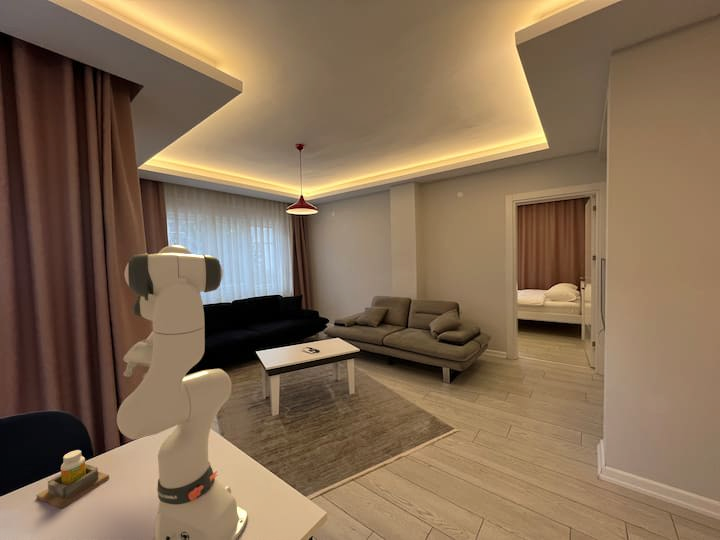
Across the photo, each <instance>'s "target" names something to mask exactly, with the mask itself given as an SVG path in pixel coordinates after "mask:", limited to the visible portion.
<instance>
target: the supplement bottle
mask: <svg viewBox="0 0 720 540" xmlns="http://www.w3.org/2000/svg"><path fill="white" fill-rule="evenodd" d="M62 461H63V463H62V464H61V466H60V475H61V478H62V484H63V485H66V486H67V485H69V484H71V483H72V482H74V481H76V480H78V479H79V478H81V477H83V476H84V475H86V468H85V464H86V458H85V457H84V456H83V455H82V450H80V449H76V450H72V451H69V452H68V453H66V454H64V456H63V457H62Z"/></svg>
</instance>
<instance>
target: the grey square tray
mask: <svg viewBox="0 0 720 540" xmlns="http://www.w3.org/2000/svg"><path fill="white" fill-rule="evenodd" d="M85 468H86V475H84V476H83V477H81V478H79V479H78V480H76V481H74V482H72V483H71V484H69V485H67V486H66V485H63V484H62V478H61V474H58V475H57V476H55V477H53V478H51V479H50V480H48V481H47V489H45V490H43V491H42V492H39V493H38V494H36V499H37V500H39V501H42V502H45V503H47V504H49V505H52V506H54V507H58V508H60V509H64V508H65V507H67V506H68V505H70V504H72V503H73V502H75V501H76V500H78V499H79V498H81V497H82V496H84V495H86V494H88V492H90V491H92V490H93V489H95V488H97V487H98V486H100V485H101V484H103V483H104V482H106V481H107V480H109V479H110V474H106V473H103V472H101V471H99V470H98V467H97V466H93V465H89V464H87V463H85ZM102 482H103V483H102Z"/></svg>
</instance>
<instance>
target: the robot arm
mask: <svg viewBox="0 0 720 540" xmlns="http://www.w3.org/2000/svg"><path fill="white" fill-rule="evenodd" d="M220 263H221V261H220V260H219V259H218V258H217V257H215V256H213V255H209V254H200V255H199V254H193V253H192V252H191V251H190V250H189V249H188V248H186V247H185V246H181V245H179V244H178V245H177V244H175V245H174V244H173V245H168V246H165V247H163V248H161V250H159V251H158V253H150V254H149V253H147V252H146V253H139V254H135V255H133V256H131V257H130V258H129V260H128V262H127V264H126V266H125V269H124V279H125V283H126V284H127V286H128V287H129V290H130V291H132V292H133V293H134V294H135V295H136V297H135V300H134V302H133V304H132V307H131V308H132V312H133V314H134V315H135V316H136V317H138V318H142V319H146V320H149V321H152V330H151V333H150V334H149V336H147V338H146V339H142V340H140V341H138V342H137V343H135V344H134V345H132V347H131V348H130V349H128V351H127V353H126V354H125V355H124V356H123V362H125V363H127V364H126V367H125V370H124V372H123V374H122V375H123V376H124V377H128V378H129V377H131V376H132V374H133V373H134V372H133V369H134V368H135V367H136V366H142V367H148V371H147V372H144V374H143V376H142V381H141V382H140V384H138V386H137V387H136V388H135V390H134V391H132V392H131V393H130V394H129V395H128V396H127V397H126V398H124V400H123V401H122V402H121V405H119V408H118V411H117V415H116V425H117V427H118V430H119V431H120V433H121V434H122V435H123V436H124V437H126V438H128V439H131V440H137V439H141V438H146V437H150V436H154V435H157V434H160V433H162V432H164V431H167V430H169V429H171V428H174V427H175V428H174V430H173V431H172V433H170V434H169V436H168V437H166V438H165V439H164V441H163V442H162V443H161V446H160V448H159V450H158V454H157V461H158V462H157V464H158V477H159V478H158V480H157V488H156V489H157V490H156V492H157V495H158V499H159V505H158V507H157V508H158V509H157V514H156V518H155V534H154V540H237V539H238V537H239V536H240V535H241V533H242V531H243V530H244V528H245V526H246V524H247V521H248V516H249V515H248V512H247V511H246V510H244V509H242V508H241V507H239V506H238V505H237V500H236V499H235V496H234V495H232V490H231V487H230V486H228V485H227V486H223V485H222V483H220V482H219V481H218V479H216V477H217V476H218V474H217V473H218V471H214V469H213V467H212V465H211V463H210V461H209V438H210V432H211V429H212V426H213V423H214V421H215V419H216V417H217V414H218V413H219V411H220V410H221V408H222V407H223V406H224V405H225V404H226V402H227V401H228V400H229V398H230V396H231V393H232V380H231V378H230V376H229V374H228V373H227V372H226V371H224V370H223V369H222V368H213V369H204V370H200V371H196V372H193V373H190V374H187V373H188V372H189V371H190V370H191V369H193V367H195V366H196V365H197V364H198V363H199V362H200V361H201V360H202V358H203V357H204V354H205V345H206V343H205V342H206V339H205V334H206V333H205V331H206V329H205V328H206V327H205V325H206V324H205V311H204V304H203V299H202V298H203V297H202V295H201V293H210V292H213V291H216V290H218V288H219V287H220V286H221V282H222V279H223V274H224V272H223V268H222V265H221V264H220Z"/></svg>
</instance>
